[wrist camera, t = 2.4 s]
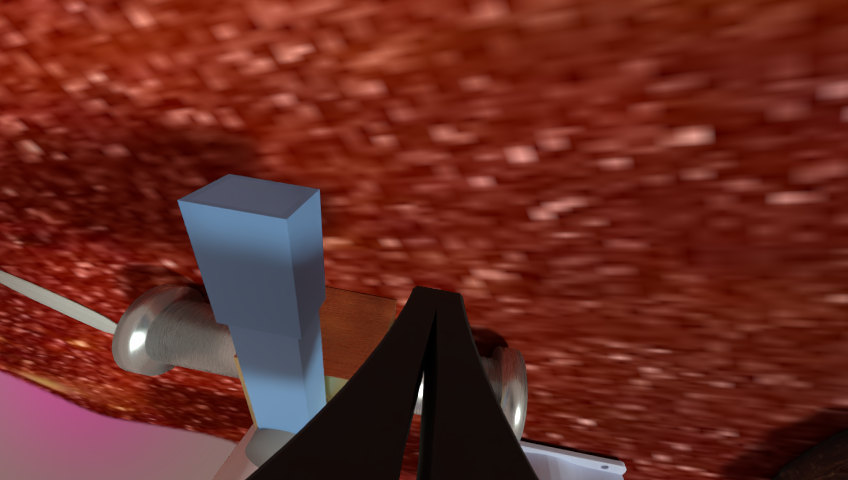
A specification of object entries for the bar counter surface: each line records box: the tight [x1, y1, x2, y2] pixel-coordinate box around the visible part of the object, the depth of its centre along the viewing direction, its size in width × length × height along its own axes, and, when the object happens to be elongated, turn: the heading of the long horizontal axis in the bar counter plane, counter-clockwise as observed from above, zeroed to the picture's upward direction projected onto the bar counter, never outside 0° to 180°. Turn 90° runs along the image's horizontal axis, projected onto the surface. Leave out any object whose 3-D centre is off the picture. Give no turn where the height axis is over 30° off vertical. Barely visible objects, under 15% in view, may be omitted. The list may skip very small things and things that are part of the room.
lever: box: [177, 174, 327, 468], centre depth 11 cm, size 13×3×2 cm, turn 173°
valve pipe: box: [112, 284, 527, 442], centre depth 17 cm, size 20×6×5 cm, turn 83°
